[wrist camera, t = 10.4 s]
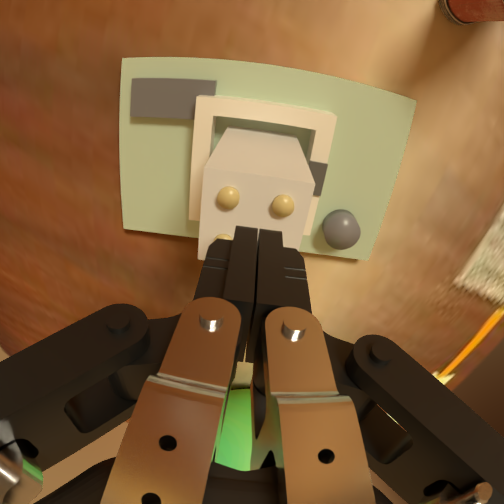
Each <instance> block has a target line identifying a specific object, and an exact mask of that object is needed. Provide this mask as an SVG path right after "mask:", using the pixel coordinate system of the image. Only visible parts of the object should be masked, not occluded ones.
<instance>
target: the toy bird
mask: <svg viewBox="0 0 504 504" xmlns="http://www.w3.org/2000/svg"><path fill="white" fill-rule="evenodd" d="M251 451H252V424H251V395H250V389H237V390H230V394H229V399H228V404H227V409H226V414H225V419H224V424H223V429H222V434H221V439H220V444H219V450H218V456H217V461H216V463H219V464H222V465H225V466H227V467H230V468H233V469H236V470H240V471H250V460H251Z"/></svg>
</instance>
